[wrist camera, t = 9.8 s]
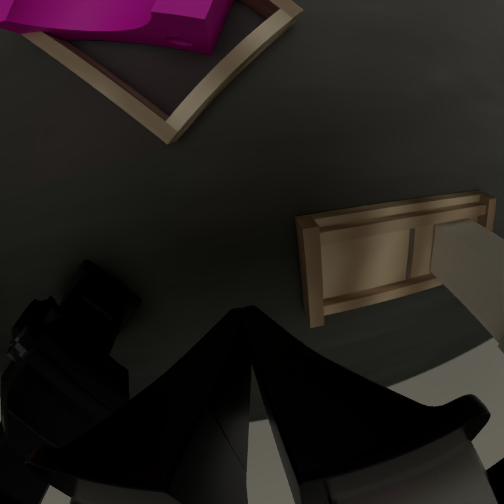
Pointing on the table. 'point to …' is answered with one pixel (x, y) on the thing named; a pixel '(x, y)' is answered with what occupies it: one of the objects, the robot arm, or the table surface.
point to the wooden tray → (376, 250)
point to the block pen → (173, 127)
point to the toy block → (122, 20)
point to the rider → (472, 270)
